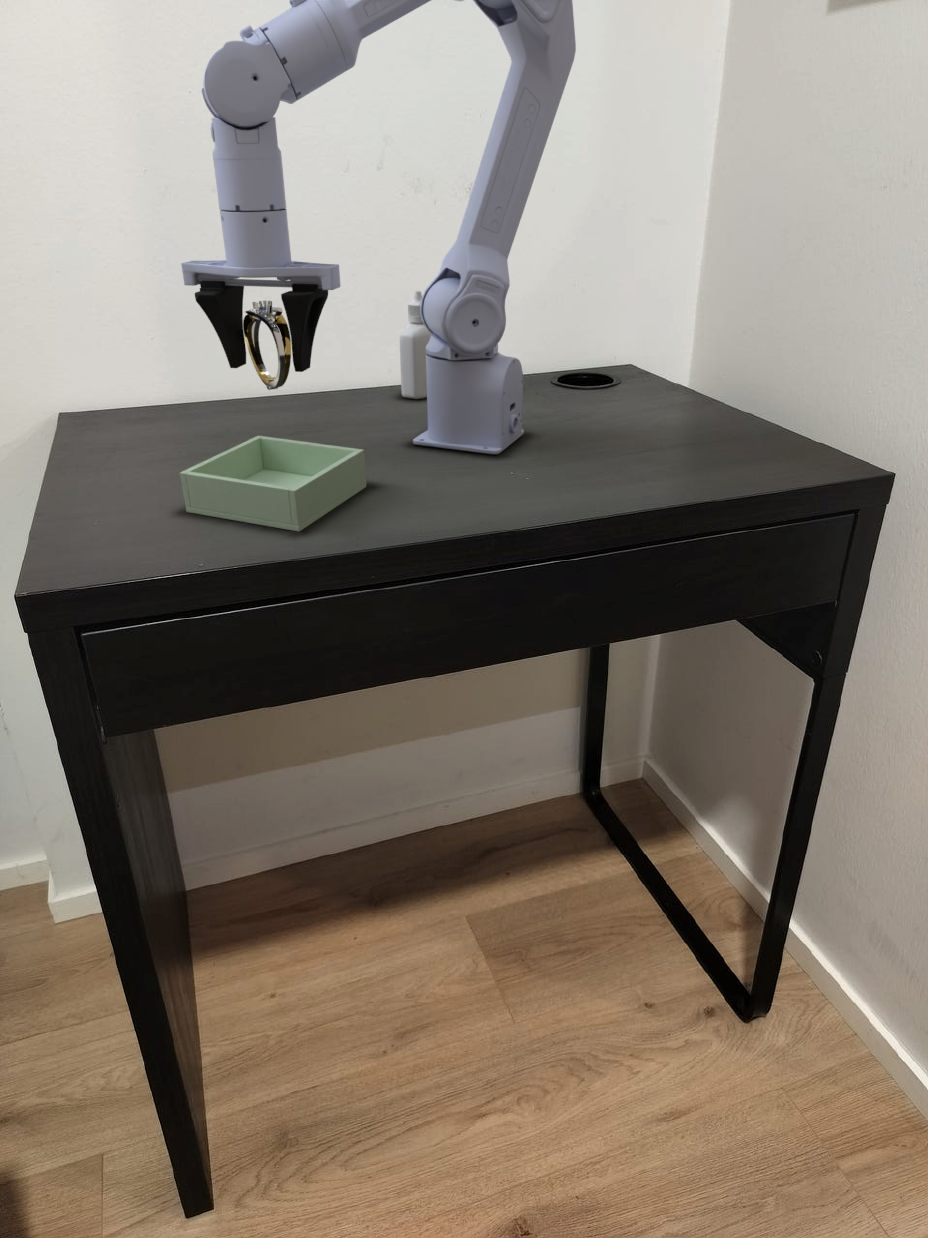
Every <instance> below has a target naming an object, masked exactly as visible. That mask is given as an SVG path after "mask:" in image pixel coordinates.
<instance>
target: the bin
mask: <svg viewBox="0 0 928 1238" xmlns="http://www.w3.org/2000/svg"><path fill="white" fill-rule="evenodd" d="M179 477H180V482H181V483H180V484H181V488H182V495H183V500H184V506H185V512H186V513H190V514H196V515H201V516H208V517H212V518H218V519H225V520H230V521H236V522H242V523H247V524H253V525H259V526H263V527H264V526H265V527H271V528H276V529H281V530H288V531H293V532H301V531H302V530H304V529H306V528H307V527H308V526H310V525H311V524H313V523H314V522H316V521H317V520H320V519H321V518H322V517H324V516H325V515H326V514H328V513H329V512H331V511H333V510H334V509H335V508H337V507H339V506H340V505H342V504H343V503H344V502H346V501H347V500H349V499H350V498H352V497H353V496H355V495H356V494H358V493H359V492H361V491H363V490H364V489H365V488H367V478H366V477H367V475H366V460H365V450H364V449H362V448H355V447H347V446H339V445H331V444H323V443H317V442H310V441H309V442H308V441H302V440H294V439H286V438H280V437H272V436H264V435H257V436H255V437H252V438H250V439H248V440H246V441H244V442H242V443H240V444H237V445H235V446H233V447H231V448H229V449H227V450H225V451H222V452H220V453H218V454H216V455H214V456H212V457H210V458H208V459H206V460H203V461H201V462H199V463H197V464H195V465H193V466H191V467H189V468H187V469H185V470H182V471H181V472H179Z"/></svg>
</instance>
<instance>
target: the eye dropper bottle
mask: <svg viewBox="0 0 928 1238" xmlns="http://www.w3.org/2000/svg"><path fill="white" fill-rule="evenodd" d="M422 295H423V293H422V291H421V290H414V295H413V299H412V301H410V302H409V303H407V317H408V318H407V319H408V322H409V323H408V324H407V325H406V326H404V328H403V329H402V330H401V332H400V334H399V361H400V362H399V363H400V364H399V365H400V387H401V388H400V390H401V396H402V397H403V398H405V399H411V400H420V399H427V376H426V346H427V344H428V343H429V340H430V337H431V332H430V331H429V330H428V329H427V328H426V327H425V325H424V323H423V321H422V318H421V313H420V304H421V299H422Z"/></svg>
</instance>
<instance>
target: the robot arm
mask: <svg viewBox="0 0 928 1238" xmlns="http://www.w3.org/2000/svg"><path fill="white" fill-rule="evenodd" d="M288 1H289V5H290V6H291V7H290V8H289V9H286V10H285V11H283V12H281V13H280V14H279V15H276V16H275V17H274V18H272V19H270V20H268V21H267V22H265V23H264V24H262V25H260V26H259V27H257V28H256V29H254V28H253V27H252V26H251V25H250V24H249V25H247V26H245V27H243V28H242V29H241V30H239V36H240V38H241V40H229V41H226V42H225V43H224V44H223V46H222V47H221V48H220V49H218V50H217V51H216V52H215V53H214V54H213V55H212V56H211V57H210V59H209V61H208V62H207V64H206V68H205V70H204V74H203V82H202V85H203V87H202V88H201V94H202V98H203V101H204V103H205V106H206V108H207V109H208V111H209V112H210V113H211V115H212V116H213V117H211V123H210V134H211V135H210V137H211V139H212V141H213V143H214V148H213V150H212V161H213V168H214V177H215V184H216V192H217V199H218V208H219V215H220V222H221V231H222V238H223V239H222V240H223V245H224V247H223V248H224V255H225V260H222V259H221V260H189V261H184V262H181V264H180V266H181V271H182V279H183V284H184V286H198V285H200V287H199V291H196V292H195V293H194V298H195V302H196V303H197V305H198V306H199V307H200V309H201V310H202V311H203V313H204V314H205V315H206V317H207V319H208V320H209V322H210V324H211V326H212V327H213V329H214V331H215V333H216V335H217V337H218V340H219V342H220V343H221V347H222V349H223V351H224V353H225V357H226V359H227V362H228V365H229V368H230V369H238V368H240V367H242V366H244V365H247V346H246V340H245V335H244V329H243V320H244V317H243V316H244V315H243V313H244V311H243V309H244V308H243V307H244V292H245V291H244V290H245V287H260V288H261V287H264V288H290V289H291V290H288V291H285V292H282V293H281V294H280V299H281V302H282V304H283V308H284V311H285V316H286V319H287V325H288V328H289V333H290V339H291V357H292V364H293V368H294V372H296V373H303V372H305V371H307V370H308V369H310V368H311V362H312V361H311V360H312V354H313V353H312V352H313V345H314V340H315V336H316V332H317V331H316V330H317V328H318V324H319V321H320V317H321V315H322V313H323V312H322V311H323V309H324V306H325V304H326V302H327V300H328V298H329V291H334V290H337V289H339V288H341V287H342V286H341V274H340V264H338V263H336V264H335V263H319V262H308V261H297V260H292V252H291V243H290V241H291V240H290V231H289V221H288V210H287V200H286V192H285V191H286V189H285V179H284V178H285V177H284V169H283V168H284V167H283V156H282V151H281V149H280V147H279V143H278V133H277V120H276V117H275V115H276V114H277V111H278V109H279V106H280V103H281V102H283V103H287V104H289V105H293V104H294V103H297V101H299V100H301V99H303V98H304V97H306V96H307V95H309V94H311V93H313V92H315V90H318V89H319V88H321V87H322V86H324V85H326V84H327V83H330V82H331V81H333V80H334V79H336V78H338V77H339V76H341V75H342V74H345V73H346V72H347V71H349V70H351V69H352V68H354V67H355V66H356V63H357V59H358V53H359V50H360V47H361V43H362V41H363V39H365V38H367V37H369V36H371V35H372V34H374V33H376V32H378V31H380V30H381V29H383V28H386V26H389V25H390V24H392V23H394V22H396V21H397V20H399V19H401V18H403V17H405V16H406V15H408V14H410V13H412V12H413V11H415V10H417V9H418V8H421V7H422V6H424V5H426V4H428V3H429V2H431V1H432V0H288ZM454 1H455V2H463V1H465V0H454ZM472 1H473V3H474V4H475V5H476V7H478V8H479V10H480V11H481V12H482V13H483V14H484V15H485V16H486V18H488V19H489V21H490V22H491V23H492V25H494V26H495V27H496V29H497V31H498V33H499V36H500V38H501V40H502V41H503V44H504V46H505V48H506V51H507V53H508V55H509V57H510V65H509V66H510V67H509V70H508V73H507V75H506V79H505V83H504V85H503V88H502V92H501V95H500V99H499V102H498V105H497V109H496V111H495V115H494V118H493V120H492V121H493V122H492V123H491V124H492V125H491V128H490V131H489V134H488V138H487V140H486V144H485V147H484V151H483V152H482V153H483V154H482V156H481V160H480V163H479V165H478V166H479V167H478V169H477V172H476V176H475V179H474V182H473V185H472V189H471V192H470V195H469V198H468V201H467V205H466V208H465V212H464V214H463V216H462V217H463V218H462V221H461V223H460V228H459V230H458V234H457V236H456V240H455V242H454V243H453V244H452V246H451V248H450V249H449V250H448V252H447V253H446V255H445V256H444V257H443V259H442V262H441V265H440V269H439V271H438V273H437V275H436V277H435V278H434V279H433V280H432V281H431V282H430V283H429V284H428V286H427V287H426V288H425V290H424V291H423V293H422V299H421V304H420V313H421V318H422V321H423V323H424V325H425V327H426V328H427V329H428V330H429V331H430V332H431V337H430V340H429V343H428V344H427V346H426V376H427V397H426V410H427V413H426V415H427V429H426V430H425V431H424V432H422V433H420V434H419V435H417V436H416V437H414V438H413V439H412V444H414V445H417V446H423V447H432V448H440V449H449V450H456V451H463V452H464V451H465V452H471V453H478V454H479V453H480V454H486V455H500V454H501V453H502V452H503V451H504V450H506V449H507V448H508V447H510V445H512V444H513V443H514V442H515V441H517V440H518V439H519V438H520V437H522V436H523V435H524V434H525V430H524V429H523V401H524V400H523V398H524V397H523V395H524V393H523V392H524V372H523V366H522V362H521V361H520V359H518V358H516V357H514V356H507V355H504V354H502V353H500V352H499V343H500V341H501V340H502V338H503V336H504V333H505V330H506V325H507V316H506V315H507V314H506V299H507V296H508V291H509V289H510V285H511V283H510V282H511V281H510V273H509V265H508V264H509V263H508V260H509V259H508V258H509V256H510V254H511V253H510V252H511V250H512V246H513V243H514V241H515V237H516V235H517V232H518V229H519V226H520V224H521V223H520V222H521V220H522V217H523V213H524V211H525V208H526V204H527V201H528V199H529V196H530V193H531V190H532V187H533V184H534V181H535V178H536V174H537V173H538V169H539V166H540V164H541V159H542V157H543V154H544V152H545V148H546V145H547V142H548V139H549V136H550V132H551V130H552V127H553V124H554V121H555V118H556V115H557V113H558V109H559V106H560V103H561V101H562V97H563V95H564V91H565V88H566V85H567V82H568V80H569V77H570V73H571V70H572V67H573V65H574V62H575V56H576V51H577V43H576V42H577V41H576V29H575V16H574V5H573V0H472ZM248 278H249V279H248ZM259 278H261V279H259ZM262 278H263V279H262ZM265 278H266V279H265ZM267 278H276V279H267Z"/></svg>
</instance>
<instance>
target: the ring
mask: <svg viewBox="0 0 928 1238" xmlns="http://www.w3.org/2000/svg"><path fill="white" fill-rule="evenodd" d="M251 303H252V308H250V309H247V310H245V311H244V313H246V315H245V316H244V317H243V332H244V339H245V345H246V349H247V350H248V353H249V354H248V355H249V357H250V360H251V362H252V366H253V368H254V369H255V372H256V374H257V375H258V377H259V379H260V380H261V382H262V383H263V385H265V386H266V389H267V390H268V391H271V390H277V389H279V388H281V387H283V386H284V385H285V383H286V382H287V380H288V377H289V374H290V369H291V361H292V360H291V359H292V343H291V334H290V329H289V324H288V322H287V320H286V318H285V317H284V315H283V309H282V307H280V306H273V301H272V300H267V299H266V300H258V302H256V301H252V302H251ZM262 322H263V323H264V324H265V325H266V326H267V327H268V329H269V331H270V332H271V334H272V337H273V340H274V343H275V347H276V352H277V372H276V375H275V376H273V377H272V376H271V374H270V373H269V371H268V370H267V367H266V365H265V363H264V359H263V357H262V353H261V349H260V338H259V337H260V336H259V335H260V326H261V323H262Z"/></svg>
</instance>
